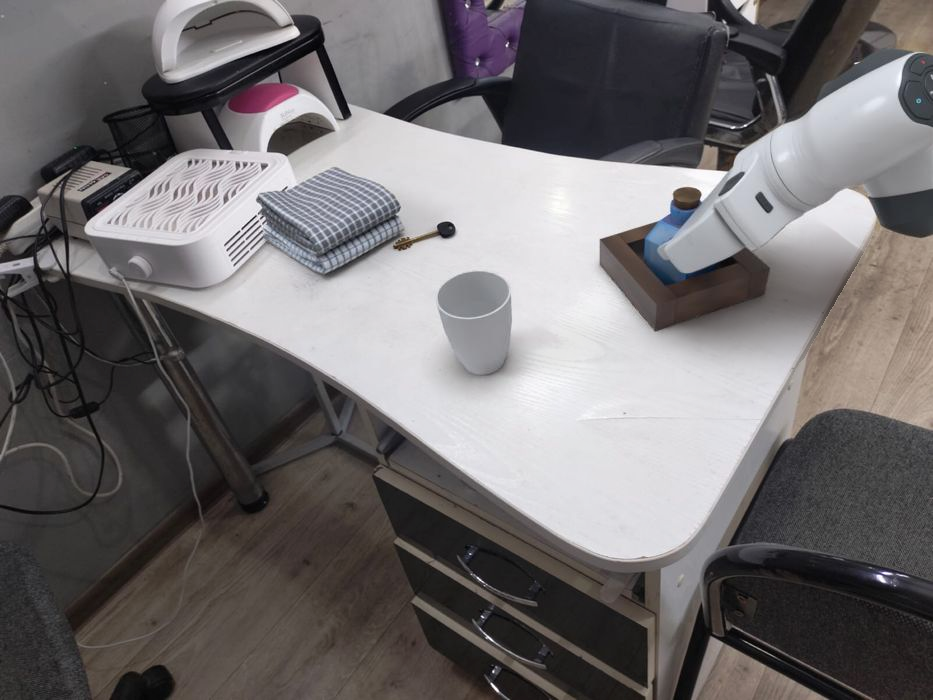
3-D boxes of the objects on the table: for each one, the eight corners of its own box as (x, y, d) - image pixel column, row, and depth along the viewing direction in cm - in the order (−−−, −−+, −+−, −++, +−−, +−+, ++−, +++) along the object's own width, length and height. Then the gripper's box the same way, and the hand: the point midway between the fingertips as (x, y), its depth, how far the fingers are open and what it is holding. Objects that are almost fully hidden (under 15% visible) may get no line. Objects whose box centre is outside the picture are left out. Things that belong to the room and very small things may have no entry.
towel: (327, 284, 94) (311, 237, 89) (261, 239, 105) (243, 195, 100) (410, 233, 101) (400, 186, 96) (340, 195, 112) (327, 151, 106)
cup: (528, 343, 81) (521, 276, 74) (502, 391, 76) (493, 324, 69) (466, 330, 84) (454, 265, 77) (437, 376, 79) (422, 310, 72)
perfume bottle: (715, 276, 85) (727, 191, 77) (682, 300, 82) (692, 215, 74) (675, 256, 89) (682, 174, 80) (642, 278, 86) (647, 196, 78)
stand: (698, 233, 92) (701, 207, 89) (764, 294, 81) (770, 267, 78) (599, 264, 90) (599, 238, 87) (654, 331, 79) (656, 304, 77)
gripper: (793, 111, 75) (698, 172, 86) (717, 204, 64) (621, 259, 76) (827, 156, 76) (728, 210, 87) (757, 255, 65) (656, 302, 77)
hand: (677, 234), depth 81 cm, fingers closed on perfume bottle, 7 cm apart
